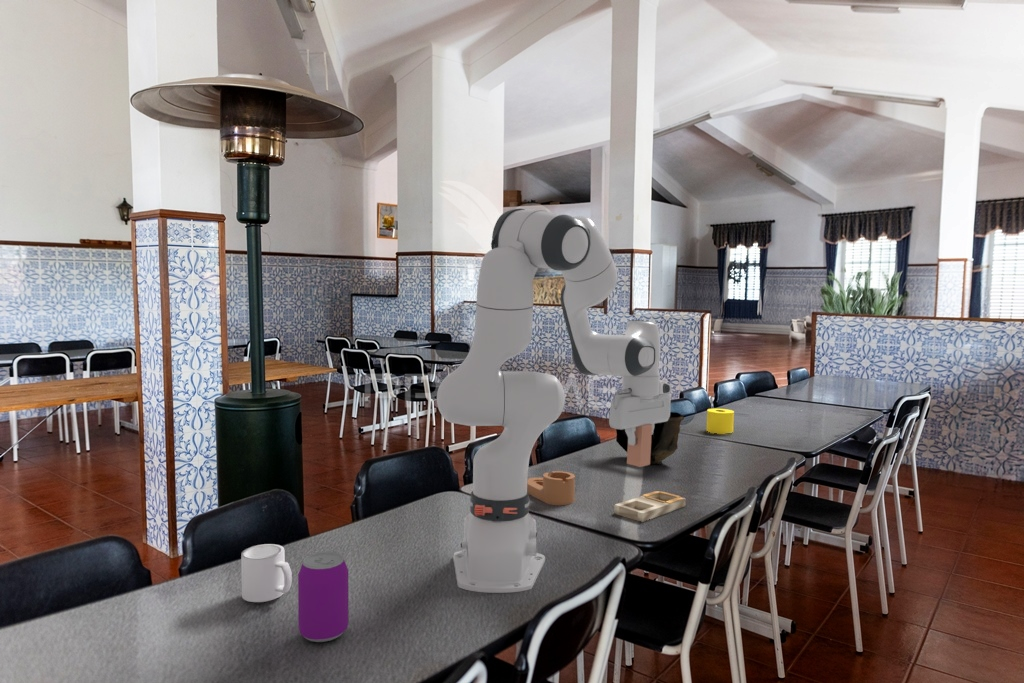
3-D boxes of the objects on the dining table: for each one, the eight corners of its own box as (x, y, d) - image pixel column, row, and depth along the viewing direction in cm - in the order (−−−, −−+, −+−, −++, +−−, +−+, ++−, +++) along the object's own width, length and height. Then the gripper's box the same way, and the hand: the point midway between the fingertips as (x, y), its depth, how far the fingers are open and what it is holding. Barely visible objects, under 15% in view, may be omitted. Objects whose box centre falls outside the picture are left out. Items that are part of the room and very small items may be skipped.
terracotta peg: (640, 467, 163) (642, 426, 162) (626, 463, 166) (628, 423, 165) (649, 464, 166) (652, 424, 165) (636, 461, 169) (638, 421, 168)
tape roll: (734, 433, 266) (735, 410, 266) (731, 438, 257) (732, 414, 257) (708, 431, 271) (709, 407, 270) (704, 435, 261) (705, 411, 261)
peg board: (642, 523, 161) (642, 512, 161) (614, 514, 167) (614, 503, 167) (685, 508, 173) (685, 497, 173) (657, 500, 179) (657, 490, 179)
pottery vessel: (688, 467, 214) (691, 405, 212) (671, 473, 206) (673, 409, 204) (622, 453, 231) (624, 395, 229) (603, 459, 223) (605, 399, 221)
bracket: (580, 503, 176) (581, 477, 176) (553, 508, 172) (553, 481, 172) (544, 485, 192) (544, 461, 191) (518, 489, 188) (519, 464, 188)
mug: (304, 590, 123) (304, 549, 122) (276, 607, 116) (276, 564, 115) (261, 581, 126) (261, 541, 126) (232, 597, 119) (231, 555, 119)
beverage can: (288, 638, 106) (287, 564, 105) (318, 616, 113) (318, 546, 112) (329, 648, 103) (328, 572, 102) (358, 625, 110) (357, 553, 109)
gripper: (624, 391, 155) (623, 451, 156) (675, 385, 169) (674, 440, 170) (603, 388, 160) (602, 446, 161) (654, 383, 174) (653, 436, 175)
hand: (639, 443), depth 165 cm, fingers closed on terracotta peg, 4 cm apart
